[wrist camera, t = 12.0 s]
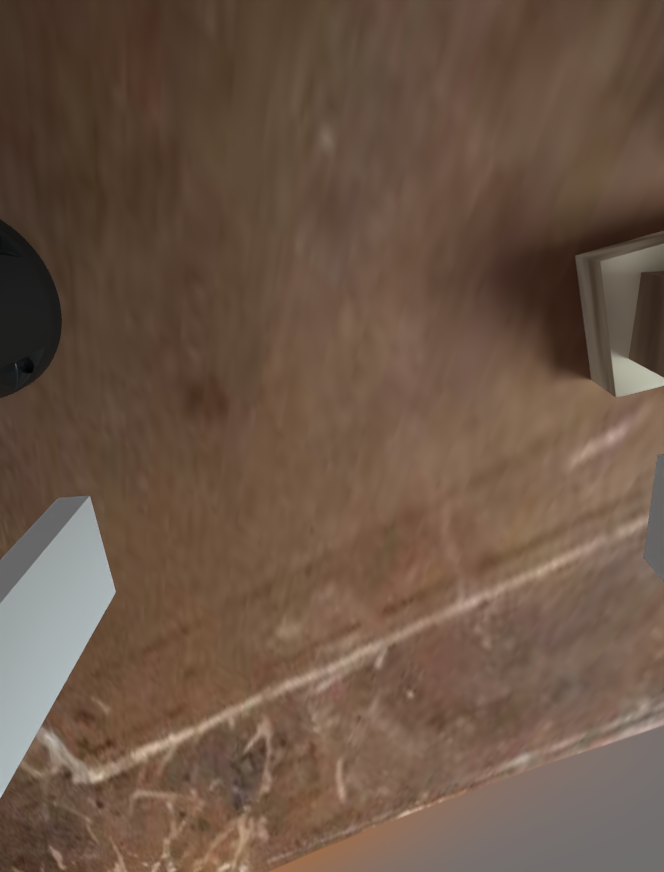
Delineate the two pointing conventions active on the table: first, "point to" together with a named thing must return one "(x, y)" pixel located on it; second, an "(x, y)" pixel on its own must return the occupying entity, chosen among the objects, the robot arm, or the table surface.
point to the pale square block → (616, 310)
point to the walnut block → (649, 323)
